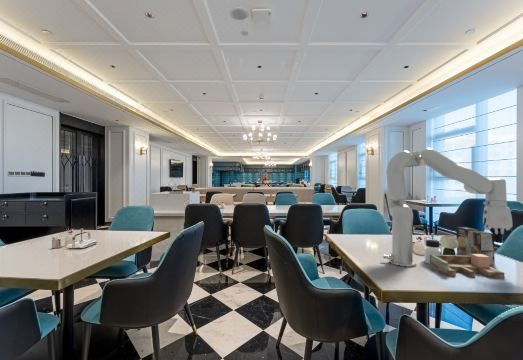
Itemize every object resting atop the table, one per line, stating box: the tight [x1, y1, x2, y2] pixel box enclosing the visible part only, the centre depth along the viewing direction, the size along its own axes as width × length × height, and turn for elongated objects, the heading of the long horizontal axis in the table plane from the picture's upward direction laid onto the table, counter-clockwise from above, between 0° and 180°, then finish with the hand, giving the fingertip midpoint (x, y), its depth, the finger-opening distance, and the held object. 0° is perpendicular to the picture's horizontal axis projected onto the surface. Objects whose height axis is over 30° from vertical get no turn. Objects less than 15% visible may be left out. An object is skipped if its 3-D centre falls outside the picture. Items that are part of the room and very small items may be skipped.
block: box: [471, 254, 491, 267], centre depth 124 cm, size 5×5×5 cm
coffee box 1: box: [456, 226, 479, 256], centre depth 152 cm, size 9×6×16 cm
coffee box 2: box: [471, 230, 496, 266], centre depth 138 cm, size 9×6×16 cm
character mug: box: [439, 234, 458, 255], centre depth 143 cm, size 11×7×13 cm, turn 10°
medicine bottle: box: [424, 238, 442, 264], centre depth 138 cm, size 7×7×12 cm
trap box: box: [429, 254, 505, 279], centre depth 122 cm, size 24×14×6 cm, turn 82°
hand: (497, 242), depth 123 cm, fingers closed
